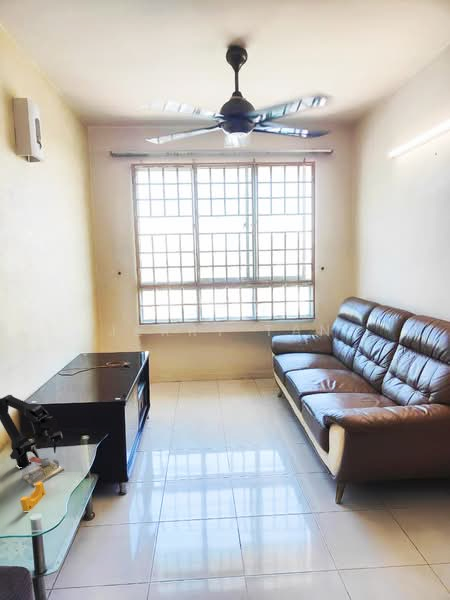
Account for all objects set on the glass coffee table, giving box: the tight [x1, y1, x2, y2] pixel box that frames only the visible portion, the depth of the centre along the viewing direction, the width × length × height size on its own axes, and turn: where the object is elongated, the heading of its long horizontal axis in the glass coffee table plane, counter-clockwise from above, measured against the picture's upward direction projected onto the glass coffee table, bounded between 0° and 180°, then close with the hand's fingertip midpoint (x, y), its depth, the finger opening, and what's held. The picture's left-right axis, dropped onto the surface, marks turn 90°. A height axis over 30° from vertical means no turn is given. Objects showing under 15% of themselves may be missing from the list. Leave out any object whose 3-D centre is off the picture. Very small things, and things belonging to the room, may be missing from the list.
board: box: [21, 459, 65, 488], centre depth 196 cm, size 16×15×1 cm
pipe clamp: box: [20, 482, 47, 512], centre depth 172 cm, size 12×4×6 cm, turn 171°
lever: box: [28, 456, 50, 467], centre depth 197 cm, size 14×4×2 cm, turn 61°
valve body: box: [27, 458, 60, 482], centre depth 194 cm, size 6×14×4 cm, turn 139°
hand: (46, 455), depth 202 cm, fingers open, 8 cm apart
